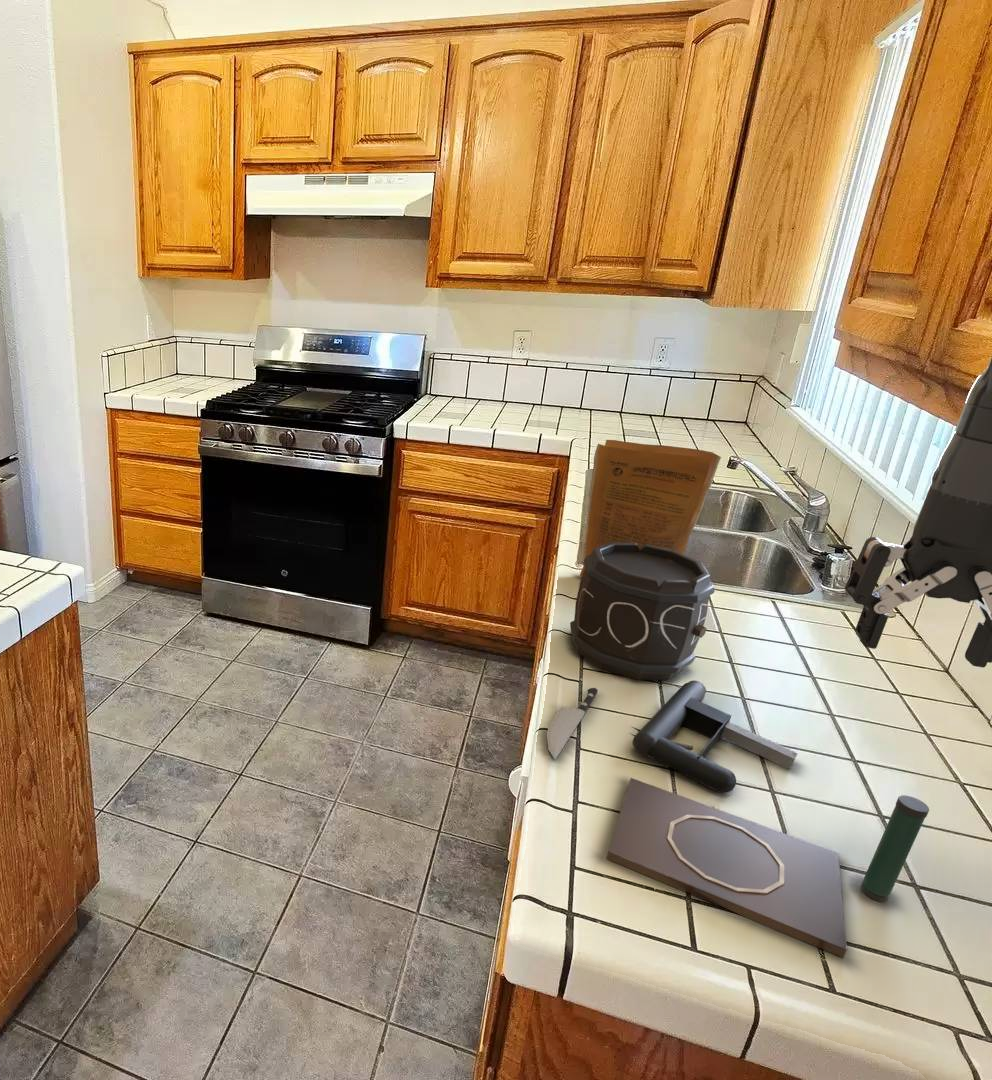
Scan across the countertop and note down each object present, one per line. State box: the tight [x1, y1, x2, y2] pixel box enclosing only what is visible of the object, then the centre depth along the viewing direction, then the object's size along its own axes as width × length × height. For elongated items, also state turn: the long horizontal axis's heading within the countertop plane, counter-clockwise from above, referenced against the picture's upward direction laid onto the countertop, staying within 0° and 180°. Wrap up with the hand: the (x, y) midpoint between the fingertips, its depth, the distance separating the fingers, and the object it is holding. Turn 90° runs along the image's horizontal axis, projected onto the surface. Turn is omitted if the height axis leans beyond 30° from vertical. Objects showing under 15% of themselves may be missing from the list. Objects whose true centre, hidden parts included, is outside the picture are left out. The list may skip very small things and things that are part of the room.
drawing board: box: [605, 777, 848, 958], centre depth 77 cm, size 20×14×1 cm
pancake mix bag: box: [579, 439, 722, 578], centre depth 134 cm, size 7×19×28 cm, turn 57°
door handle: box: [629, 680, 798, 794], centre depth 95 cm, size 3×20×16 cm
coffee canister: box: [569, 542, 715, 681], centre depth 114 cm, size 18×18×16 cm
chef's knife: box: [546, 687, 599, 760], centre depth 99 cm, size 19×1×3 cm
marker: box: [860, 794, 930, 902], centre depth 72 cm, size 2×2×11 cm
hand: (919, 653), depth 71 cm, fingers open, 8 cm apart
